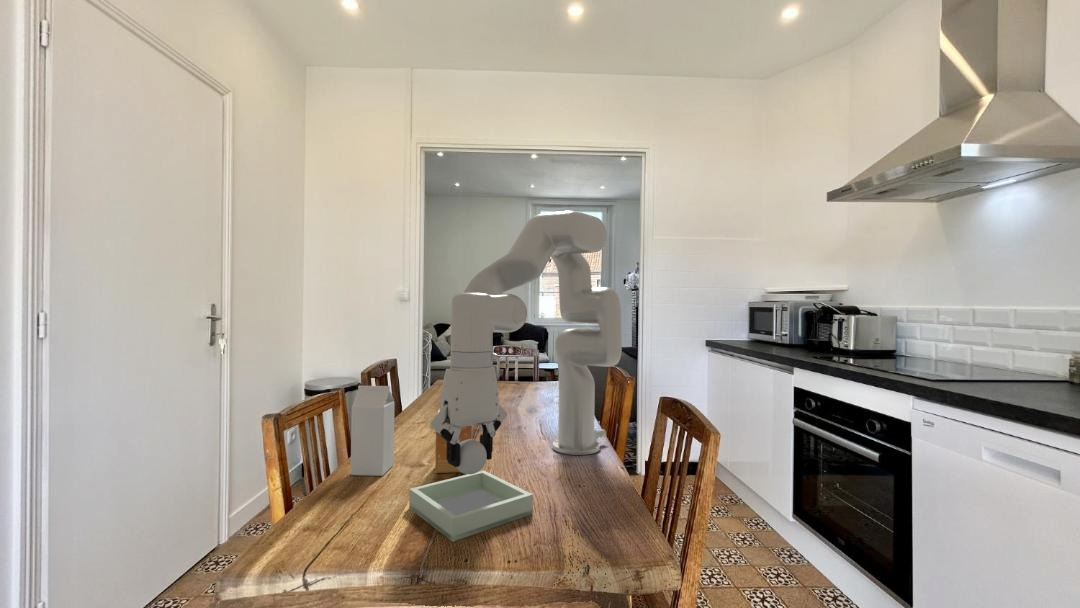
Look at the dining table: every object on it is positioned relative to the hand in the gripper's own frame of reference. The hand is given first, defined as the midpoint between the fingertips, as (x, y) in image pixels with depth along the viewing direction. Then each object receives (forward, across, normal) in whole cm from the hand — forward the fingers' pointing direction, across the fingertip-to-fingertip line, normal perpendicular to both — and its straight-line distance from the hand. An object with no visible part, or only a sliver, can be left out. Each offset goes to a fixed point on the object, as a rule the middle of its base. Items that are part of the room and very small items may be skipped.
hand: (469, 460), depth 84 cm
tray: (+9, 0, 0) cm, 9 cm away
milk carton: (+9, +6, -32) cm, 34 cm away
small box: (+9, -9, -22) cm, 26 cm away
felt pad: (+9, 0, 0) cm, 9 cm away
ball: (-1, 0, 0) cm, 1 cm away
